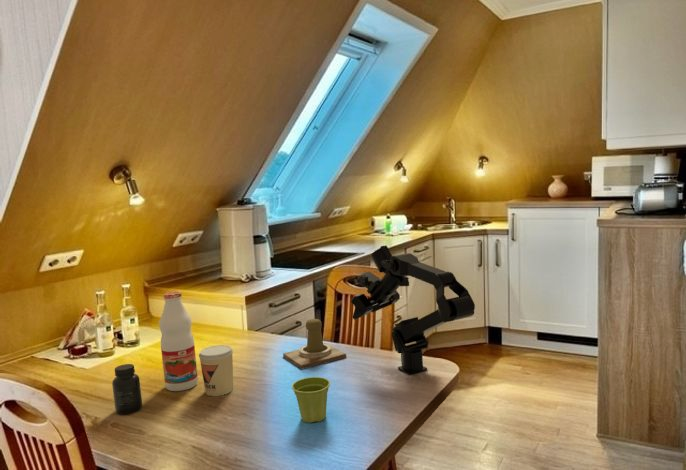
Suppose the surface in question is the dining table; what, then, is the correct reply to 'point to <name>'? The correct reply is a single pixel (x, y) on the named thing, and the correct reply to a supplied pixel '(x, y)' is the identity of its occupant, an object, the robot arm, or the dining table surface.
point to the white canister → (217, 369)
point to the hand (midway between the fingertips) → (362, 314)
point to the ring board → (313, 356)
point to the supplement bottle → (126, 390)
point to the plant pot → (312, 397)
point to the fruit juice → (177, 345)
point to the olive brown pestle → (314, 336)
